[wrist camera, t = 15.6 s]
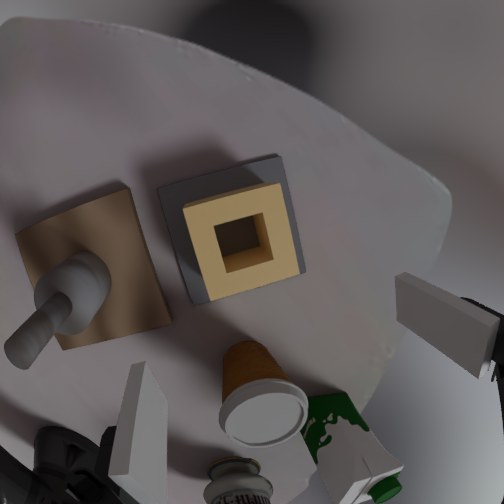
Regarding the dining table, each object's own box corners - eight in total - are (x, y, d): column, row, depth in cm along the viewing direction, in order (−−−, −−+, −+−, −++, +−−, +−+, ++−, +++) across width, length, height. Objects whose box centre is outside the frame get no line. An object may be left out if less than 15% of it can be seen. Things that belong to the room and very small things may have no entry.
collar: (207, 280, 34) (210, 301, 28) (184, 204, 31) (182, 209, 25) (282, 258, 35) (299, 274, 29) (264, 182, 32) (280, 183, 26)
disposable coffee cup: (201, 341, 36) (207, 405, 24) (274, 321, 37) (306, 376, 26) (221, 394, 38) (234, 458, 27) (286, 376, 40) (315, 434, 28)
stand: (66, 344, 32) (12, 437, 15) (20, 231, 28) (-77, 273, 11) (172, 318, 34) (163, 427, 17) (129, 188, 30) (60, 197, 13)
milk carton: (337, 423, 45) (388, 505, 26) (290, 430, 43) (332, 524, 24) (352, 387, 43) (417, 471, 24) (302, 392, 41) (358, 494, 22)
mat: (193, 304, 34) (193, 306, 34) (157, 188, 31) (157, 188, 30) (304, 270, 36) (306, 272, 36) (279, 156, 32) (281, 156, 32)
